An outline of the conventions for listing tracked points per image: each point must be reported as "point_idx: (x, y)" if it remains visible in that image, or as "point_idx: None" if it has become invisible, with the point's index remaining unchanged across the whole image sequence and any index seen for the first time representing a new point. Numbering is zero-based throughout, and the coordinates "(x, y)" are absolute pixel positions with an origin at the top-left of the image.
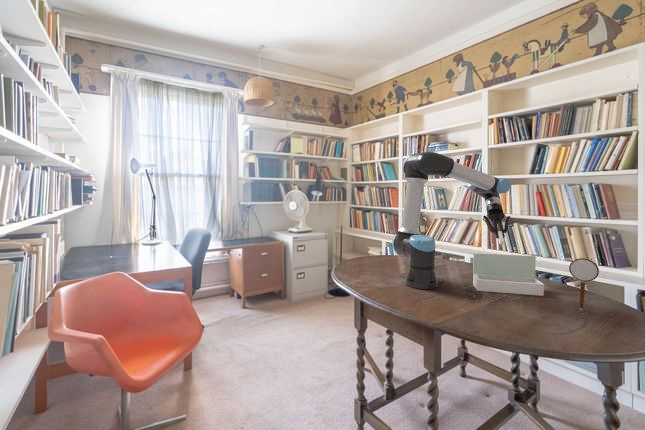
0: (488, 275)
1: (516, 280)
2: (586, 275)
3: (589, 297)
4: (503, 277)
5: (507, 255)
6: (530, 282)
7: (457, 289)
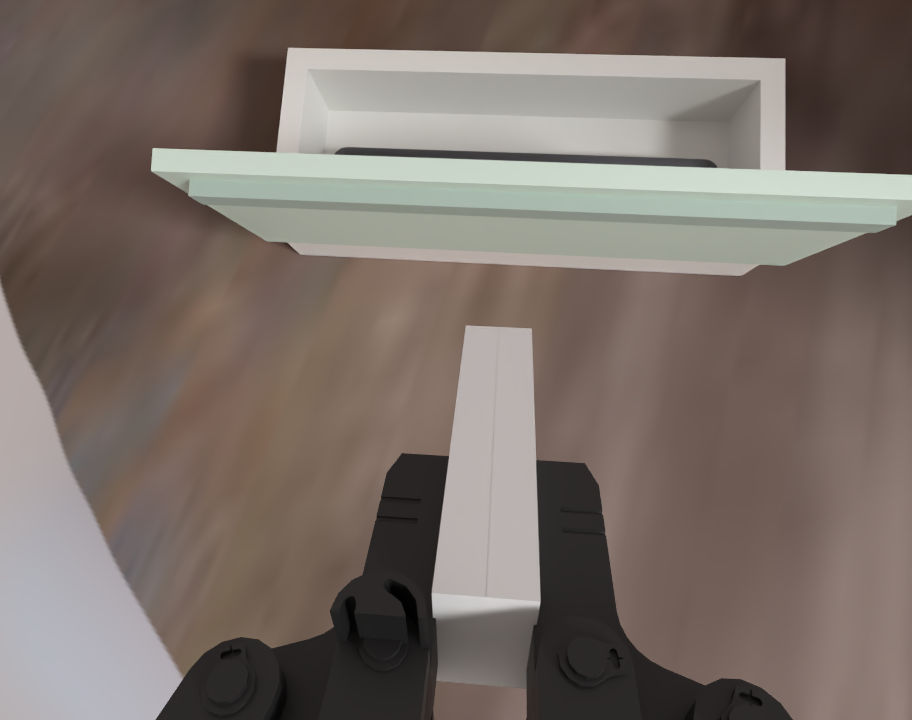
0: None
1: None
2: None
3: (44, 133)
4: None
5: (484, 164)
6: None
7: (887, 112)
